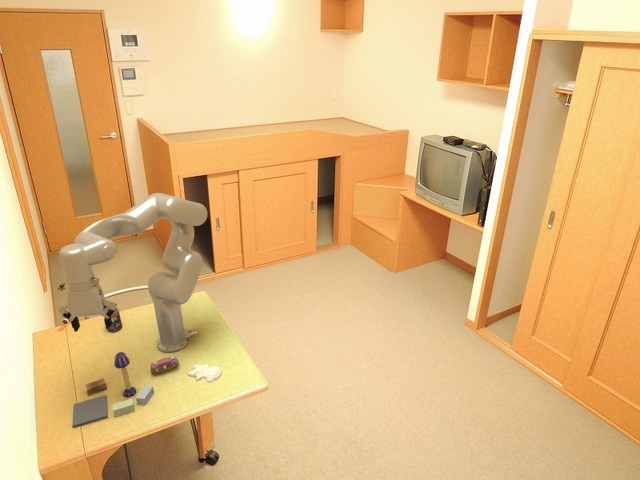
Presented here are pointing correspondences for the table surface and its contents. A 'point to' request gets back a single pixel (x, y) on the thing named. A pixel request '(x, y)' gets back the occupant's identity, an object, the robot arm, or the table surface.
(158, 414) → the table surface
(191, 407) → the table surface
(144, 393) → the brick
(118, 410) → the brick
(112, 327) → the supplement bottle
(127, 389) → the toy lamp
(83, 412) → the pad
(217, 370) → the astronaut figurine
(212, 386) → the table surface
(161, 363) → the video game controller
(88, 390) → the brick
